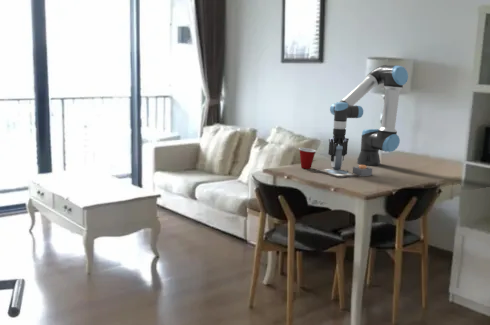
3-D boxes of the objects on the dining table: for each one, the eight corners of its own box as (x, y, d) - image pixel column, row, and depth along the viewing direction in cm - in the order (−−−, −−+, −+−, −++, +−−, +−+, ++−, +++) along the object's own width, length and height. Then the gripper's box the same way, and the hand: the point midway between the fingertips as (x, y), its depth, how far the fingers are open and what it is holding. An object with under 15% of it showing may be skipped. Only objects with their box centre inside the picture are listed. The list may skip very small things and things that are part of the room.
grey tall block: (337, 167, 338) (339, 144, 336) (342, 169, 334) (344, 146, 331) (330, 168, 335) (332, 145, 333) (335, 169, 331) (337, 146, 329)
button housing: (362, 172, 334) (363, 166, 333) (371, 175, 327) (372, 168, 326) (352, 173, 330) (353, 166, 329) (361, 176, 323) (362, 169, 322)
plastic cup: (314, 170, 333) (315, 150, 331) (296, 169, 335) (297, 149, 333) (315, 167, 344) (317, 148, 342) (298, 166, 346) (299, 147, 344)
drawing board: (336, 169, 339) (336, 167, 339) (358, 176, 322) (358, 174, 321) (316, 171, 331) (316, 169, 331) (337, 178, 314) (338, 175, 314)
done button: (362, 168, 331) (363, 164, 330) (367, 170, 327) (368, 165, 326) (357, 169, 329) (357, 164, 328) (362, 170, 325) (362, 166, 324)
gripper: (347, 127, 338) (344, 164, 342) (323, 127, 329) (321, 166, 333) (355, 128, 331) (352, 166, 335) (331, 129, 323) (328, 168, 327)
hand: (336, 166), depth 334 cm, fingers closed on grey tall block, 5 cm apart
